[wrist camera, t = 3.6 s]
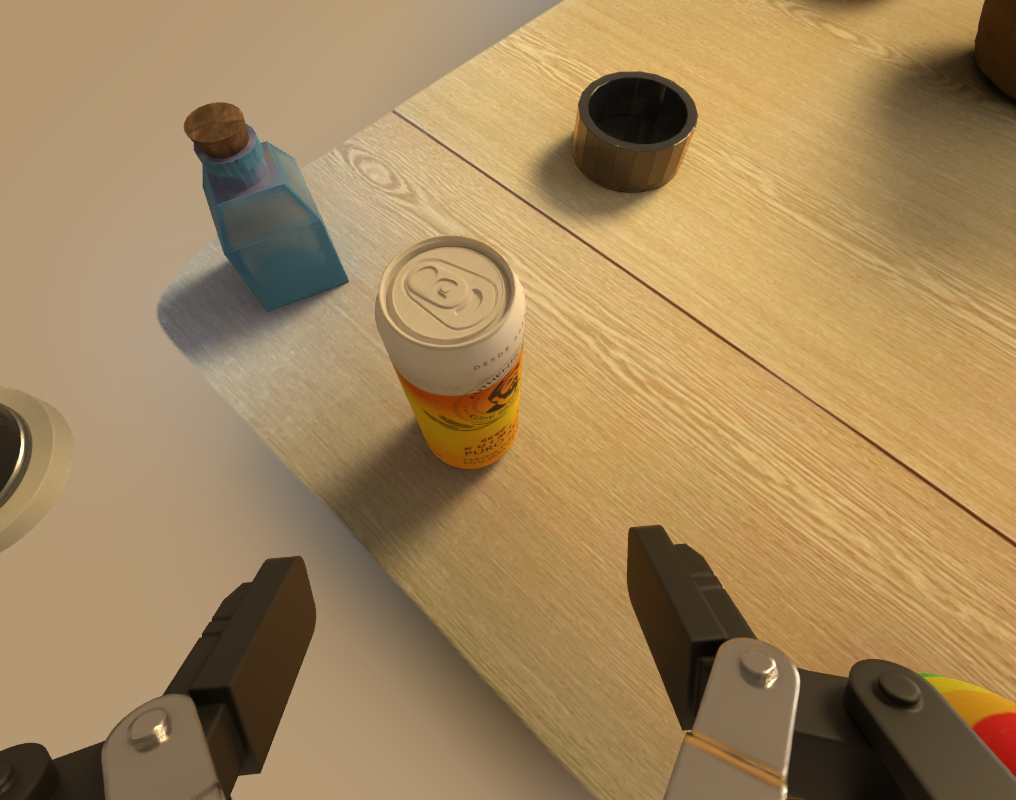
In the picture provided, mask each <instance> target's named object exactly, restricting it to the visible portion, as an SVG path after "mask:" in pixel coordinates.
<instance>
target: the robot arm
mask: <svg viewBox="0 0 1016 800" xmlns="http://www.w3.org/2000/svg"><path fill="white" fill-rule="evenodd" d="M31 454H32V436H31V431H30V429H29V426H28V424H27V422H26V421H25V420H24V418H23V417H22V416H21V415H20V414H19V413H18V412H16V411H15V410H13V409H12V408H10V407H7V406H5V405H3V404H1V403H0V508H1V507H2V506H3V505H4V504H5V503H6V502H7V501H8V500H9V498H10V497H11V496H12V495H13V493H14V492H15V491H16V489H17V488H18V486H19V485H20V483H21V481H22V479H23V478H24V475H25V473H26V471H27V469H28V466H29V463H30V459H31ZM627 586H628V592H629V597H630V600H631V604H632V606H633V609H634V611H635V614H636V616H637V619H638V621H639V624H640V626H641V629H642V631H643V634H644V636H645V639H646V641H647V644H648V646H649V649H650V651H651V653H652V656H653V658H654V661H655V663H656V666H657V668H658V671H659V673H660V676H661V678H662V681H663V683H664V686H665V688H666V691H667V693H668V696H669V698H670V701H671V703H672V706H673V708H674V711H675V713H676V716H677V718H678V721H679V723H680V726H681V728H682V731H683V730H692V731H691V733H689V732H687V733H686V735H685V737H684V739H683V742H682V745H681V748H680V751H679V754H678V757H677V760H676V763H675V766H674V769H673V772H672V775H671V778H670V781H669V784H668V787H667V790H666V793H665V796H664V799H663V800H787V794H788V795H792V796H796V797H800V798H804V799H809V800H1016V777H1015V776H1014V775H1013V774H1012V773H1011V772H1010V770H1009V769H1008V768H1007V767H1006V766H1005V765H1004V764H1003V763H1002V762H1001V760H1000V759H999V758H998V757H997V756H996V755H995V754H994V753H993V751H992V750H991V749H990V748H989V747H988V746H987V745H986V744H985V743H984V741H983V740H982V739H981V738H980V737H979V736H978V735H977V734H976V733H975V731H974V730H973V729H972V728H971V727H970V726H969V725H968V724H967V722H966V721H965V720H964V719H963V718H962V717H961V716H960V715H959V714H958V712H957V711H956V710H955V709H954V708H953V707H952V706H951V705H950V703H949V702H948V701H947V700H946V699H945V698H944V697H943V696H942V695H941V693H940V692H939V691H938V690H937V689H936V688H935V687H934V686H933V685H932V684H930V683H929V682H928V681H927V680H926V679H924V678H923V677H921V676H920V675H918V674H917V673H915V672H913V671H911V670H910V669H908V668H905V667H903V666H901V665H898V664H896V663H893V662H889V661H885V660H879V659H867V660H862V661H859V662H857V663H856V664H854V665H853V667H852V668H851V670H850V673H849V677H848V678H846V677H840V676H834V675H829V674H823V673H818V672H812V671H807V670H803V669H800V668H797V667H795V665H794V664H793V662H792V661H791V660H790V659H789V658H788V657H787V656H786V655H785V654H784V653H783V652H781V651H780V650H778V649H777V648H775V647H774V646H772V645H770V644H768V643H766V642H763V641H760V640H758V639H757V637H756V636H755V634H754V633H753V631H752V630H751V628H750V627H749V625H748V624H747V622H746V621H745V619H744V618H743V616H742V615H741V613H740V612H739V610H738V609H737V607H736V606H735V604H734V603H733V601H732V600H731V598H730V597H729V595H728V594H727V592H726V591H725V589H723V588H722V585H721V583H720V582H719V580H718V579H717V577H716V576H714V574H713V571H712V570H711V568H710V567H709V565H708V564H707V562H706V561H705V559H704V558H703V556H701V555H700V554H699V553H697V552H696V551H695V550H693V549H692V548H691V547H689V546H688V545H687V544H675V545H673V543H672V542H671V540H670V538H669V537H668V535H667V533H666V532H665V530H664V528H663V527H662V526H661V525H651V526H639V527H630V529H629V533H628V558H627ZM315 622H316V608H315V603H314V599H313V595H312V591H311V587H310V583H309V579H308V575H307V571H306V567H305V563H304V560H303V559H302V557H301V556H294V557H283V558H272V559H267V560H266V561H265V562H264V563H263V565H262V566H261V568H260V570H259V571H258V573H257V575H256V577H255V578H254V580H253V581H252V582H249V583H243V584H241V585H240V586H239V587H238V588H237V589H236V590H235V591H233V592H232V593H231V594H230V595H229V596H228V597H226V598H225V599H224V600H223V602H222V603H221V605H220V607H219V608H218V610H217V611H216V613H215V615H214V616H213V618H212V622H209V624H208V625H207V627H206V629H205V630H204V632H203V633H202V638H199V640H198V641H197V643H196V644H195V646H194V647H193V649H192V650H191V652H190V653H189V655H188V656H187V658H186V660H185V661H184V663H183V664H182V666H181V667H180V669H179V671H178V672H177V674H176V675H175V677H174V679H173V680H172V681H171V683H170V685H169V686H168V688H167V689H166V691H165V693H164V694H163V695H162V696H160V697H158V698H155V699H152V700H150V701H148V702H146V703H144V704H143V705H141V706H139V707H137V708H136V709H135V710H133V711H132V712H130V713H129V714H128V715H127V716H126V717H124V718H123V719H122V720H121V721H120V722H119V723H118V724H117V725H116V726H115V728H114V729H113V730H112V731H111V733H110V734H109V736H108V737H107V739H106V740H105V741H103V742H100V743H98V744H95V745H92V746H89V747H87V748H84V749H81V750H78V751H76V752H73V753H70V754H68V755H65V756H62V757H59V758H56V759H54V760H52V759H51V757H50V755H49V753H48V751H47V750H46V748H45V747H44V746H43V745H41V744H37V743H24V744H20V745H16V746H13V747H10V748H7V749H5V750H2V751H0V800H232V798H231V795H230V794H231V792H232V790H233V787H234V785H235V782H236V780H237V778H238V776H241V775H250V774H259V773H261V770H262V768H263V765H264V762H265V760H266V757H267V754H268V752H269V749H270V746H271V744H272V741H273V739H274V736H275V733H276V731H277V728H278V725H279V723H280V720H281V718H282V715H283V712H284V710H285V707H286V704H287V702H288V699H289V696H290V694H291V691H292V689H293V686H294V683H295V680H296V678H297V675H298V673H299V670H300V667H301V665H302V662H303V659H304V656H305V654H306V652H307V649H308V646H309V644H310V641H311V638H312V636H313V633H314V629H315Z"/></svg>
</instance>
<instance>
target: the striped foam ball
mask: <svg viewBox="0 0 1016 800" xmlns="http://www.w3.org/2000/svg"><path fill="white" fill-rule="evenodd" d="M917 674H918V675H920V676H921V677H923V678H924V679H926V680H927V681H928V682H929V683H930V684H932V685H933V686H934V687H935V688H936V689H937V690H938V691H939V692H940V693H941V695H942V696H943V697H944V698H945V699H946V700H947V701H948V702H949V703H950V705H951V706H952V707H953V708H954V709H955V710H956V711H957V712H958V714H959V715H960V716H961V717H962V718H963V719H964V720H965V721H966V722H967V724H968V725H969V726H970V727H971V728H972V729H973V730H974V731H975V733H976V734H977V735H978V736H979V737H980V738H981V739H982V740H983V741H984V743H985V744H986V745H987V746H988V747H989V748H990V749H991V750H992V751H993V753H994V754H995V755H996V756H997V757H998V758H999V759H1000V760H1001V762H1002V763H1003V764H1004V765H1005V766H1006V767H1007V768H1008V769H1009V770H1010V772H1011V773H1012V774H1013V775H1014V776H1015V777H1016V704H1015V703H1013V702H1011V701H1009V700H1007V699H1005V698H1003V697H1001V696H999V695H997V694H994V693H992V692H990V691H988V690H985V689H983V688H980V687H978V686H975V685H972V684H969V683H966V682H963V681H960V680H956V679H952V678H948V677H943V676H937V675H930V674H920V673H917Z"/></svg>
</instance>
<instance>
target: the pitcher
mask: <svg viewBox="0 0 1016 800" xmlns="http://www.w3.org/2000/svg"><path fill="white" fill-rule="evenodd" d="M975 56H976V61H977V65H978V67H979V69H980V70H981V71H982V72H983V73H984V74H985V75H986V76H987V77H988V78H989V79H990V80H991V81H992V82H993V83H994V84H995V85H996V86H997V87H998V88H999V89H1000V90H1002V91H1003V92H1004V93H1005V94H1006V95H1007V96H1009V97H1011V98H1014V99H1016V0H985V2H984V5H983V9H982V13H981V17H980V21H979V25H978V32H977V36H976V39H975Z"/></svg>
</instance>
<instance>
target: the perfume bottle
mask: <svg viewBox="0 0 1016 800" xmlns="http://www.w3.org/2000/svg"><path fill="white" fill-rule="evenodd" d="M184 131H185V133H186V134H187V136H188V137H189V138H190V139H191V140H192V141H193V142H194V151H195V153H196V154H197V156H198V158H199V159H200V161H201V162H202V164H203V189H204V192H205V195H206V198H207V202H208V205H209V208H210V211H211V214H212V217H213V221H214V224H215V227H216V230H217V233H218V236H219V240H220V243H221V246H222V249H223V252H224V255H225V256H226V257H227V259H228V260H229V261H230V262H231V264H232V265H233V266H234V268H235V269H236V270H237V272H238V273H239V274H240V276H241V277H242V278H243V280H244V281H245V282H246V284H247V285H248V286H249V288H250V289H251V290H252V291H253V293H254V294H255V295H256V297H257V298H258V299H259V301H260V302H261V303H262V305H263V306H264V307H265V309H266V310H267V311H270V310H272V309H275V308H278V307H281V306H283V305H286V304H289V303H291V302H294V301H297V300H300V299H302V298H305V297H308V296H311V295H313V294H316V293H319V292H322V291H324V290H327V289H330V288H332V287H335V286H338V285H341V284H343V283H346V282H349V281H348V278H347V276H346V274H345V271H344V269H343V267H342V264H341V262H340V260H339V257H338V255H337V253H336V250H335V248H334V246H333V243H332V241H331V239H330V236H329V234H328V232H327V230H326V227H325V225H324V223H323V220H322V218H321V216H320V214H319V212H318V209H317V207H316V205H315V203H314V201H313V198H312V196H311V194H310V192H309V189H308V187H307V185H306V183H305V181H304V178H303V176H302V174H301V172H300V170H299V168H298V165H297V163H296V161H295V159H294V158H293V157H292V156H290V155H288V154H287V153H285V152H283V151H282V150H280V149H278V148H277V147H275V146H274V145H272V144H270V143H269V142H263V143H260V141H259V139H258V137H257V135H256V133H255V131H254V130H253V129H252V127H250V126H249V125H247V124H246V123H245V120H244V117H243V113H242V112H241V110H240V109H239V108H238V107H236V106H234V105H232V104H228V103H212V104H207V105H204V106H202V107H199V108H197V109H196V110H194V111H193V112H191V114H190V115H189V116H188V117H187V118H186V120H185V123H184Z"/></svg>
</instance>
